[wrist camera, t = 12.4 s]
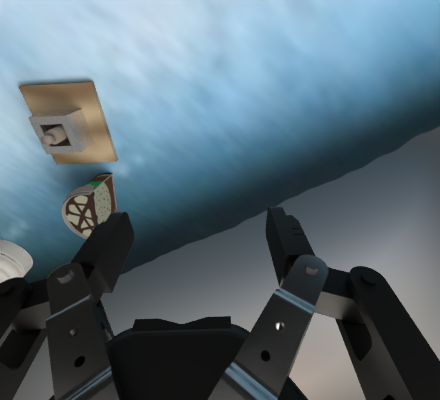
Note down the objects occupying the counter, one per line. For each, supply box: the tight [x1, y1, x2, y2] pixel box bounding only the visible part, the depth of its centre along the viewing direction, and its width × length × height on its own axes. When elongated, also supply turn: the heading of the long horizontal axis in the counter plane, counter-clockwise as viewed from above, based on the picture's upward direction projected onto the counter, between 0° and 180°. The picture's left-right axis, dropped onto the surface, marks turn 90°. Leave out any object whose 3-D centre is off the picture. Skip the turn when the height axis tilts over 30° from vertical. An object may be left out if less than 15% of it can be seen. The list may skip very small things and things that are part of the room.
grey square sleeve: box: [29, 109, 94, 154], centre depth 38 cm, size 6×6×5 cm
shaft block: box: [19, 82, 118, 164], centre depth 38 cm, size 14×12×8 cm
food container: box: [62, 173, 117, 239], centre depth 45 cm, size 12×6×10 cm, turn 171°
